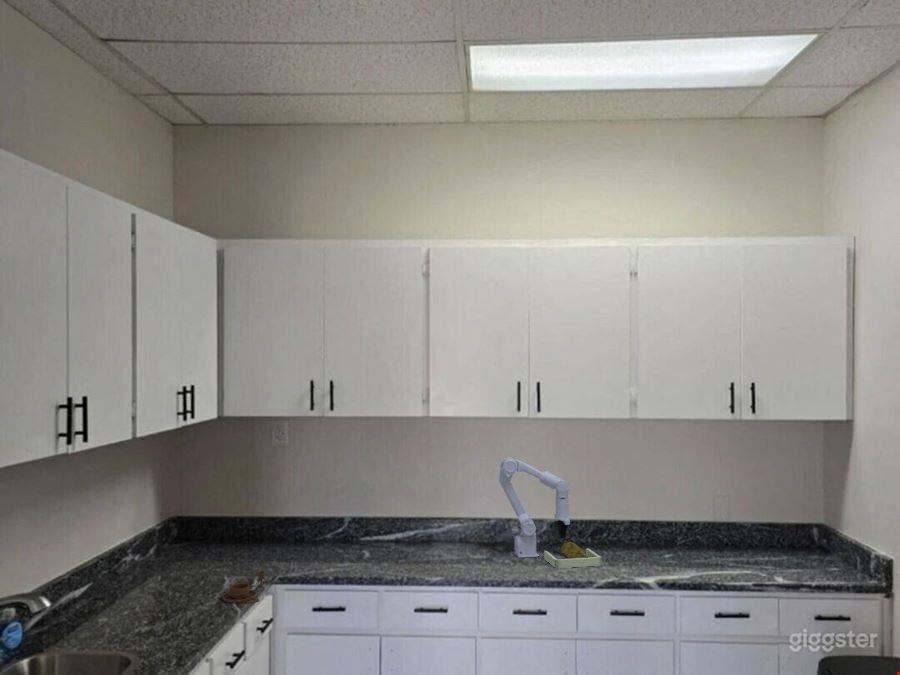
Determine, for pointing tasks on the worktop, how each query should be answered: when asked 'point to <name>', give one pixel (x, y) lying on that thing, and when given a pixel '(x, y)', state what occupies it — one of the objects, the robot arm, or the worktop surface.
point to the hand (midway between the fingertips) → (562, 537)
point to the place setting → (243, 591)
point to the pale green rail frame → (574, 560)
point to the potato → (572, 551)
